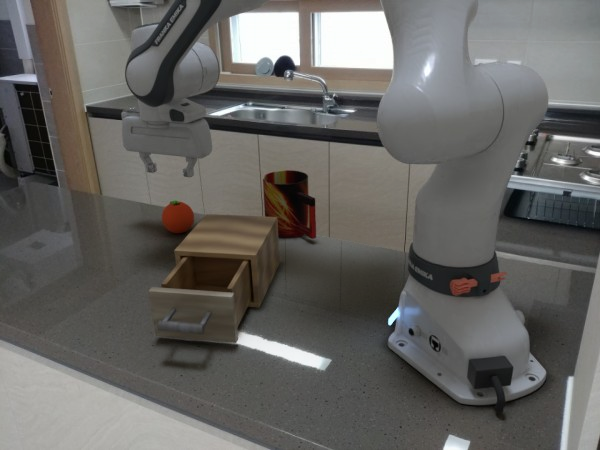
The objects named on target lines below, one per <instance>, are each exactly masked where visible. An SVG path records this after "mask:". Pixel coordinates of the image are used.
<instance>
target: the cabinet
mask: <svg viewBox="0 0 600 450" xmlns="http://www.w3.org/2000/svg"><path fill="white" fill-rule="evenodd" d="M277 221H278V220H277V217H265V216H264V215H263V216H262V215H261V216H259V215H238V214H216V213H215V214H214V213H206V214H205V215H204V216H203V218H201V219H200V221H199V222H197V224H196V225H195V226H194V227H193V228H192V230H191V231H190V232H189V233H188V234H187V236H185V238H184V239H183V240H182V241H181V242H180V243H179V244H178V246H176V248H175V249H174V250H173V252H174V258H175V267H176V266H177V264H178V263H179V262H180V261H181V260H182V258H183V257H184V256H197V257H213V258H230V259H247V260H251V268H252V282H253V297H252V299H251V301H250V303H249V305H248V307H247V308H259V309H260V307H261V305H262V304H263V301H264V299H265V297H266V295H267V293H268V290H269V288H270V286H271V283H272V281H273V279H274V277H275V275H276V274H277V271H278V268H279V266H280V264H281V263H280V262H281V261H280V243H279V242H280V241H279V237H278V222H277Z"/></svg>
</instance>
